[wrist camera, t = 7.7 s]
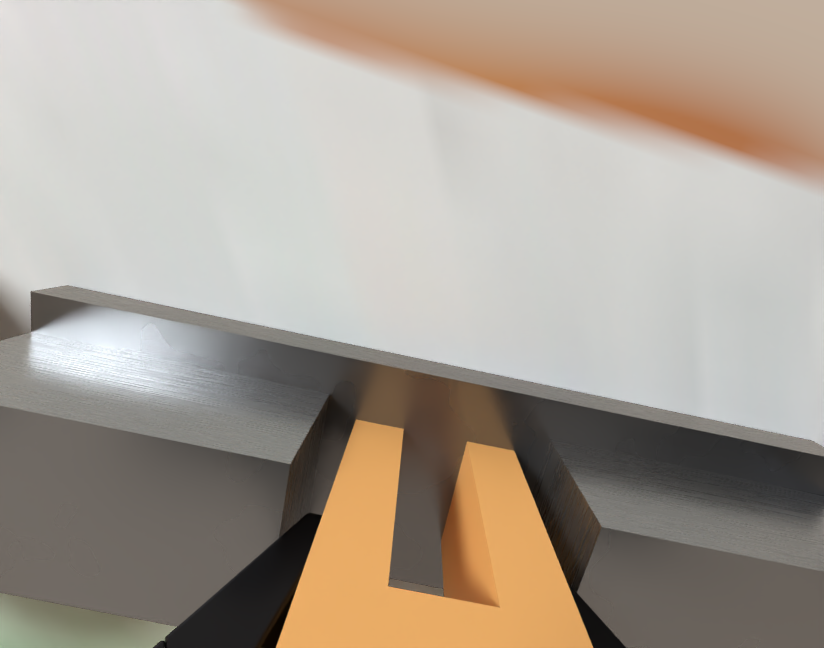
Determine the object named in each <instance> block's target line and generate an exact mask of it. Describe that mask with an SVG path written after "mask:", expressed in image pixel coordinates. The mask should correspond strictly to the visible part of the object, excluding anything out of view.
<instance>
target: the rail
mask: <svg viewBox="0 0 824 648" xmlns="http://www.w3.org/2000/svg"><path fill="white" fill-rule="evenodd" d="M356 420H361V421H366V422H371V423H376V424H381V425H387V426H392V427H397V428H402V429H404V431H403V441H402V451H401V461H400V471H399V481H398V491H397V501H396V511H395V521H394V532H393V542H392V552H391V562H390V572H389V578H391V579H396V580H401V581H406V582H412V583H417V584H422V585H427V586H432V587H437V588H442V589H444V588H443V570H442V551H441V539H442V536H443V532H444V528H445V524H446V520H447V516H448V513H449V509H450V505H451V501H452V497H453V493H454V490H455V486H456V482H457V478H458V474H459V470H460V467H461V463H462V459H463V455H464V451H465V447H466V444H467V442H472V443H477V444H482V445H488V446H493V447H498V448H503V449H508V450H513V451H515V454H516V456H517V459H518V461H519V464H520V466H521V469H522V471H523V474H524V476H525V479H526V481H527V484H528V486H529V489H530V491H531V494H532V496H533V499H534V501H535V504H536V506H537V509H538V511H539V514H540V516H541V519H542V521H543V524H544V526H545V529H546V531H547V534H548V536H549V539H550V541H551V544H552V546H553V549H554V551H555V554H556V556H557V559H558V561H559V564H560V566H561V569H562V571H563V573H564V576H565V578H566V581H567V582H568V583H569V584H570V586H571V587H572V588H573V589H574V590H575V591H576V592H577V593H578V594H579V596H580V597H581V598H582V599H583V600H584V601H585V602H586V603H587V604H588V606H589V607H590V608H591V609H592V610H593V611H594V612H595V613H596V614H597V616H598V617H599V618H600V619H601V620H602V621H603V622H604V623H605V624H606V626H607V627H608V628H609V629H610V630H611V631H612V632H613V633H614V634H615V636H616V637H617V638H618V639H619V640H620V641H621V642H622V643H623V644H624V646H625V647H626V648H824V447H823V446H821V445H819V444H817V443H815V442H814V441H811V440H806V439H801V438H796V437H792V436H787V435H782V434H777V433H772V432H768V431H763V430H758V429H753V428H748V427H744V426H739V425H734V424H729V423H724V422H720V421H715V420H710V419H705V418H701V417H696V416H691V415H686V414H681V413H677V412H672V411H667V410H662V409H657V408H653V407H648V406H643V405H638V404H633V403H629V402H624V401H619V400H614V399H609V398H605V397H600V396H595V395H590V394H586V393H581V392H576V391H571V390H566V389H562V388H557V387H552V386H547V385H542V384H538V383H533V382H528V381H523V380H518V379H514V378H509V377H504V376H499V375H494V374H490V373H485V372H480V371H475V370H471V369H466V368H461V367H456V366H451V365H447V364H442V363H437V362H432V361H427V360H423V359H418V358H413V357H408V356H403V355H399V354H394V353H389V352H384V351H380V350H375V349H370V348H365V347H360V346H356V345H351V344H346V343H341V342H336V341H332V340H327V339H322V338H317V337H312V336H308V335H303V334H298V333H293V332H288V331H284V330H279V329H274V328H269V327H265V326H260V325H255V324H250V323H245V322H241V321H236V320H231V319H226V318H221V317H217V316H212V315H207V314H202V313H197V312H193V311H188V310H183V309H178V308H173V307H169V306H164V305H159V304H154V303H150V302H145V301H140V300H135V299H130V298H126V297H121V296H116V295H111V294H106V293H102V292H97V291H92V290H87V289H82V288H78V287H73V286H68V285H66V286H60V287H55V288H49V289H43V290H37V291H31V332H30V333H26V334H22V335H19V336H15V337H11V338H8V339H4V340H0V593H5V594H10V595H16V596H21V597H26V598H31V599H36V600H42V601H47V602H52V603H57V604H63V605H68V606H73V607H78V608H83V609H89V610H94V611H99V612H104V613H109V614H115V615H120V616H125V617H130V618H136V619H141V620H146V621H151V622H156V623H162V624H167V625H172V626H177V627H178V626H179V625H180V624H181V623H182V622H183V621H185V620H186V619H187V618H188V617H189V616H190V615H191V614H193V613H194V612H195V611H196V610H197V609H198V608H199V607H201V606H202V605H203V604H204V603H205V602H206V601H207V600H209V599H210V598H211V597H212V596H213V595H214V594H215V593H217V592H218V591H219V590H220V589H221V588H222V587H223V586H225V585H226V584H227V583H228V582H229V581H230V580H231V579H233V578H234V577H235V576H236V575H237V574H238V573H239V572H241V571H242V570H243V569H244V568H245V567H246V566H247V565H249V564H250V563H251V562H252V561H253V560H254V559H255V558H257V557H258V556H259V555H260V554H261V553H262V552H263V551H265V550H266V549H267V548H268V547H269V546H270V545H271V544H273V543H274V542H275V541H276V540H277V539H278V538H279V537H281V536H282V535H283V534H284V533H285V532H286V531H287V530H289V529H290V528H291V527H292V526H293V525H294V524H295V523H297V522H298V521H299V520H300V519H301V518H302V517H303V516H305V515H306V514H307V513H315V514H320V515H323V512H324V509H325V506H326V503H327V501H328V498H329V495H330V492H331V489H332V486H333V483H334V481H335V478H336V475H337V472H338V469H339V466H340V463H341V461H342V458H343V455H344V452H345V449H346V446H347V443H348V441H349V438H350V435H351V432H352V429H353V426H354V423H355V421H356Z"/></svg>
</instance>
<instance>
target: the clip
mask: <svg viewBox="0 0 824 648" xmlns="http://www.w3.org/2000/svg"><path fill="white" fill-rule="evenodd" d="M403 431H404V429H402V428H397V427H392V426H387V425H381V424H376V423H371V422H366V421H361V420H356V421H355V423H354V426H353V429H352V432H351V435H350V438H349V441H348V443H347V446H346V449H345V452H344V455H343V458H342V461H341V463H340V466H339V469H338V472H337V475H336V478H335V481H334V483H333V486H332V489H331V492H330V495H329V498H328V501H327V503H326V506H325V509H324V512H323V515H322V518H321V521H320V523H319V526H318V529H317V532H316V535H315V538H314V541H313V543H312V546H311V549H310V552H309V555H308V558H307V560H306V563H305V566H304V569H303V572H302V575H301V578H300V580H299V583H298V586H297V589H296V592H295V595H294V598H293V600H292V603H291V606H290V609H289V612H288V615H287V618H286V620H285V623H284V626H283V629H282V632H281V635H280V638H279V640H278V643H277V646H276V648H593V646H592V643H591V641H590V638H589V636H588V633H587V631H586V628H585V626H584V623H583V621H582V618H581V616H580V613H579V611H578V608H577V606H576V603H575V601H574V598H573V596H572V593H571V591H570V588H569V586H568V583H567V581H566V578H565V576H564V573H563V571H562V569H561V566H560V564H559V561H558V559H557V556H556V554H555V551H554V549H553V546H552V544H551V541H550V539H549V536H548V534H547V531H546V529H545V526H544V524H543V521H542V519H541V516H540V514H539V511H538V509H537V506H536V504H535V501H534V499H533V496H532V494H531V491H530V489H529V486H528V484H527V481H526V479H525V476H524V474H523V471H522V469H521V466H520V464H519V461H518V459H517V456H516V454H515V451H513V450H508V449H503V448H498V447H493V446H488V445H482V444H477V443H472V442H467V444H466V447H465V451H464V455H463V459H462V463H461V467H460V470H459V474H458V478H457V482H456V486H455V490H454V493H453V497H452V501H451V505H450V509H449V513H448V516H447V520H446V524H445V528H444V532H443V536H442V539H441V551H442V570H443V588H444V597H441V596H436V595H431V594H425V593H420V592H415V591H410V590H404V589H399V588H394V587H389V586H388V582H389V572H390V562H391V552H392V542H393V532H394V521H395V511H396V501H397V491H398V481H399V471H400V461H401V451H402V441H403Z"/></svg>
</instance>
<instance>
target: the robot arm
mask: <svg viewBox="0 0 824 648" xmlns="http://www.w3.org/2000/svg"><path fill="white" fill-rule="evenodd" d="M321 518H322V515H320V514H315V513H307V514H306V515H305V516H303V517H302V518H301V519H300V520H299V521H298V522H297V523H295V524H294V525H293V526H292V527H291V528H290V529H289V530H287V531H286V532H285V533H284V534H283V535H282V536H281V537H279V538H278V539H277V540H276V541H275V542H274V543H273V544H271V545H270V546H269V547H268V548H267V549H266V550H265V551H263V552H262V553H261V554H260V555H259V556H258V557H257V558H255V559H254V560H253V561H252V562H251V563H250V564H249V565H247V566H246V567H245V568H244V569H243V570H242V571H241V572H239V573H238V574H237V575H236V576H235V577H234V578H233V579H231V580H230V581H229V582H228V583H227V584H226V585H225V586H223V587H222V588H221V589H220V590H219V591H218V592H217V593H215V594H214V595H213V596H212V597H211V598H210V599H209V600H207V601H206V602H205V603H204V604H203V605H202V606H201V607H199V608H198V609H197V610H196V611H195V612H194V613H193V614H191V615H190V616H189V617H188V618H187V619H186V620H185V621H183V622H182V623H181V624H180V625H179V626H178V627H177V628H175V629H174V630H173V631H172V632H171V633H170V634H169V635H167V636H166V638H165V642H164V641H160V642H159V643H158V644H157V645H156V646H154V647H153V648H276V646H277V643H278V640H279V638H280V635H281V632H282V629H283V626H284V623H285V620H286V618H287V615H288V612H289V609H290V606H291V603H292V600H293V598H294V595H295V592H296V589H297V586H298V583H299V580H300V578H301V575H302V572H303V569H304V566H305V563H306V560H307V558H308V555H309V552H310V549H311V546H312V543H313V541H314V538H315V535H316V532H317V529H318V526H319V523H320V521H321ZM567 583H568V582H567ZM568 586H569V588H570V591H571V593H572V596H573V598H574V601H575V603H576V606H577V608H578V611H579V613H580V616H581V618H582V621H583V623H584V626H585V628H586V631H587V633H588V636H589V638H590V641H591V643H592V646H593V648H626V647H625V646H624V644H623V643H622V642H621V641H620V640H619V639H618V638H617V637H616V636H615V634H614V633H613V632H612V631H611V630H610V629H609V628H608V627H607V626H606V624H605V623H604V622H603V621H602V620H601V619H600V618H599V617H598V616H597V614H596V613H595V612H594V611H593V610H592V609H591V608H590V607H589V606H588V604H587V603H586V602H585V601H584V600H583V599H582V598H581V597H580V596H579V594H578V593H577V592H576V591H575V590H574V589H573V588H572V587H571V586H570V584H569V583H568Z"/></svg>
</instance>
